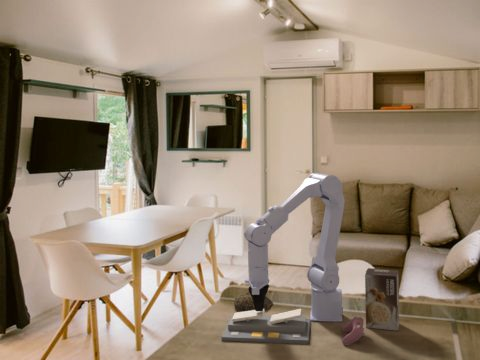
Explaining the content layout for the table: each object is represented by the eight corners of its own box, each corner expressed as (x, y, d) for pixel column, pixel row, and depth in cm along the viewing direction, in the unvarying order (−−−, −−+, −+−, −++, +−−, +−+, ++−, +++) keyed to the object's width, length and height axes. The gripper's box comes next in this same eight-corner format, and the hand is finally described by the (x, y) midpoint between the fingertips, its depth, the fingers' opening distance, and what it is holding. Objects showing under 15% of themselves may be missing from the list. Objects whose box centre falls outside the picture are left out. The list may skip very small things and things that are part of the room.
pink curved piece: (356, 352, 139) (368, 330, 138) (340, 344, 140) (352, 322, 138) (355, 336, 149) (366, 316, 147) (341, 329, 149) (352, 308, 148)
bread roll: (230, 312, 167) (230, 297, 166) (237, 298, 179) (236, 284, 178) (270, 313, 165) (270, 298, 164) (274, 299, 177) (274, 285, 176)
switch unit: (309, 322, 156) (309, 314, 156) (308, 343, 141) (308, 335, 141) (231, 319, 160) (230, 311, 160) (221, 340, 145) (221, 331, 145)
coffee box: (399, 323, 153) (400, 270, 151) (397, 331, 147) (397, 276, 145) (368, 319, 157) (367, 267, 155) (364, 327, 151) (364, 273, 149)
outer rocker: (265, 312, 154) (264, 308, 154) (263, 319, 149) (262, 314, 149) (235, 316, 156) (234, 312, 156) (232, 323, 151) (232, 319, 151)
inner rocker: (302, 312, 152) (301, 308, 152) (301, 319, 147) (300, 314, 147) (272, 319, 154) (271, 315, 154) (271, 325, 149) (269, 321, 149)
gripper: (248, 258, 158) (249, 301, 160) (240, 272, 144) (241, 319, 145) (271, 258, 157) (272, 301, 158) (266, 272, 143) (267, 320, 144)
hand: (259, 310), depth 152 cm, fingers closed
